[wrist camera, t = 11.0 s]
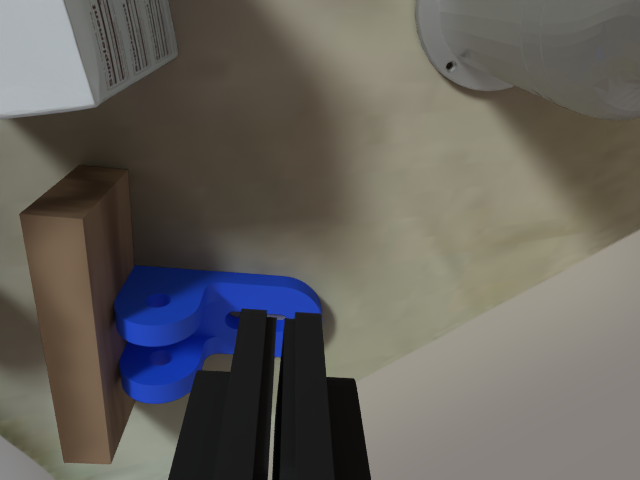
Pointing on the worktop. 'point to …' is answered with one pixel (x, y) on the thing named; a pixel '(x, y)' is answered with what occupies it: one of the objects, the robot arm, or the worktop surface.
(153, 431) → the worktop surface
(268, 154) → the worktop surface
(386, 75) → the worktop surface
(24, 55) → the supplement box
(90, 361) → the board
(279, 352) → the bracket
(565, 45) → the robot arm
